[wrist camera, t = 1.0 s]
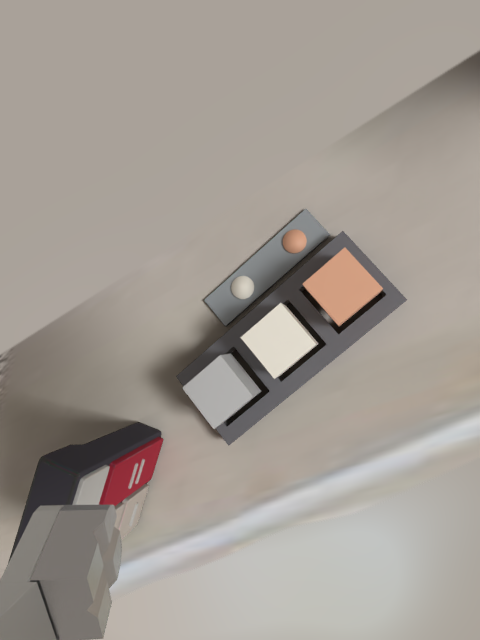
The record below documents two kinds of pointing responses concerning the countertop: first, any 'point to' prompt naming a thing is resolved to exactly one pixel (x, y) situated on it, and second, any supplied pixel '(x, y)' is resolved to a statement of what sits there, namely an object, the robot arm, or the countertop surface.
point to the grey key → (221, 389)
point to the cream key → (279, 340)
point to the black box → (98, 476)
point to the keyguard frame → (334, 342)
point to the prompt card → (266, 267)
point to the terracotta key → (342, 286)
